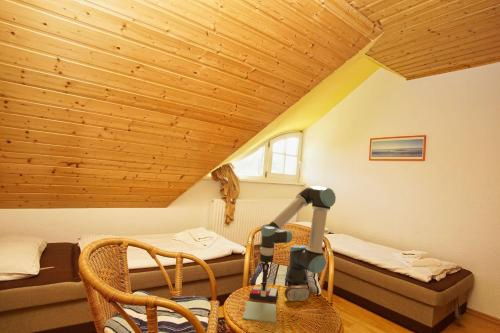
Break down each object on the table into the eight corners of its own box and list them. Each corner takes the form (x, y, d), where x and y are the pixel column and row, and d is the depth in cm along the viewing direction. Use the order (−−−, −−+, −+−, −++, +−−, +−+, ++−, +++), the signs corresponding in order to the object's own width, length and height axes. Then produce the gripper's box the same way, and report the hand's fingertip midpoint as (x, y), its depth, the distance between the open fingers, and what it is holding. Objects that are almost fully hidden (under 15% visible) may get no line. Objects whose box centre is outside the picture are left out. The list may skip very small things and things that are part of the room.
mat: (276, 305, 154) (276, 304, 154) (275, 323, 137) (276, 321, 137) (246, 302, 156) (246, 301, 156) (242, 319, 138) (242, 317, 138)
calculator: (253, 285, 171) (278, 287, 168) (253, 292, 171) (278, 295, 168) (249, 292, 161) (276, 295, 158) (249, 300, 161) (275, 303, 158)
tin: (307, 299, 166) (309, 284, 166) (310, 301, 163) (311, 286, 163) (283, 300, 162) (284, 285, 162) (285, 302, 159) (286, 287, 159)
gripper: (261, 247, 177) (258, 282, 177) (259, 259, 152) (255, 299, 152) (273, 249, 176) (270, 283, 176) (273, 261, 152) (269, 301, 151)
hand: (263, 291), depth 164 cm, fingers open, 13 cm apart
